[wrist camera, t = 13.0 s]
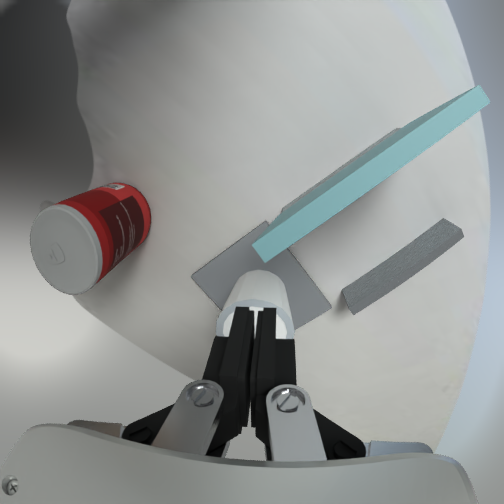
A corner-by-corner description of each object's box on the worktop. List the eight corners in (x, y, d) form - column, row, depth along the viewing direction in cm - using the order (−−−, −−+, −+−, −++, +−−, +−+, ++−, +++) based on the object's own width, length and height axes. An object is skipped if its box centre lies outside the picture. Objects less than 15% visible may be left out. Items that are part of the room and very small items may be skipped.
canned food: (82, 210, 30) (18, 243, 20) (124, 165, 28) (57, 184, 18) (120, 261, 32) (67, 310, 22) (167, 222, 30) (116, 266, 19)
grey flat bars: (282, 208, 28) (282, 218, 25) (395, 128, 24) (412, 127, 20) (346, 296, 31) (353, 315, 27) (446, 225, 27) (464, 236, 23)
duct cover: (286, 224, 25) (279, 214, 24) (416, 132, 20) (409, 122, 20) (265, 262, 13) (251, 244, 13) (490, 102, 9) (479, 84, 9)
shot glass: (292, 319, 32) (294, 361, 26) (231, 320, 33) (220, 361, 26) (291, 262, 30) (294, 298, 23) (224, 265, 30) (209, 300, 24)
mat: (192, 274, 32) (190, 276, 31) (265, 220, 29) (265, 221, 28) (259, 346, 34) (259, 349, 34) (331, 305, 32) (331, 307, 31)
